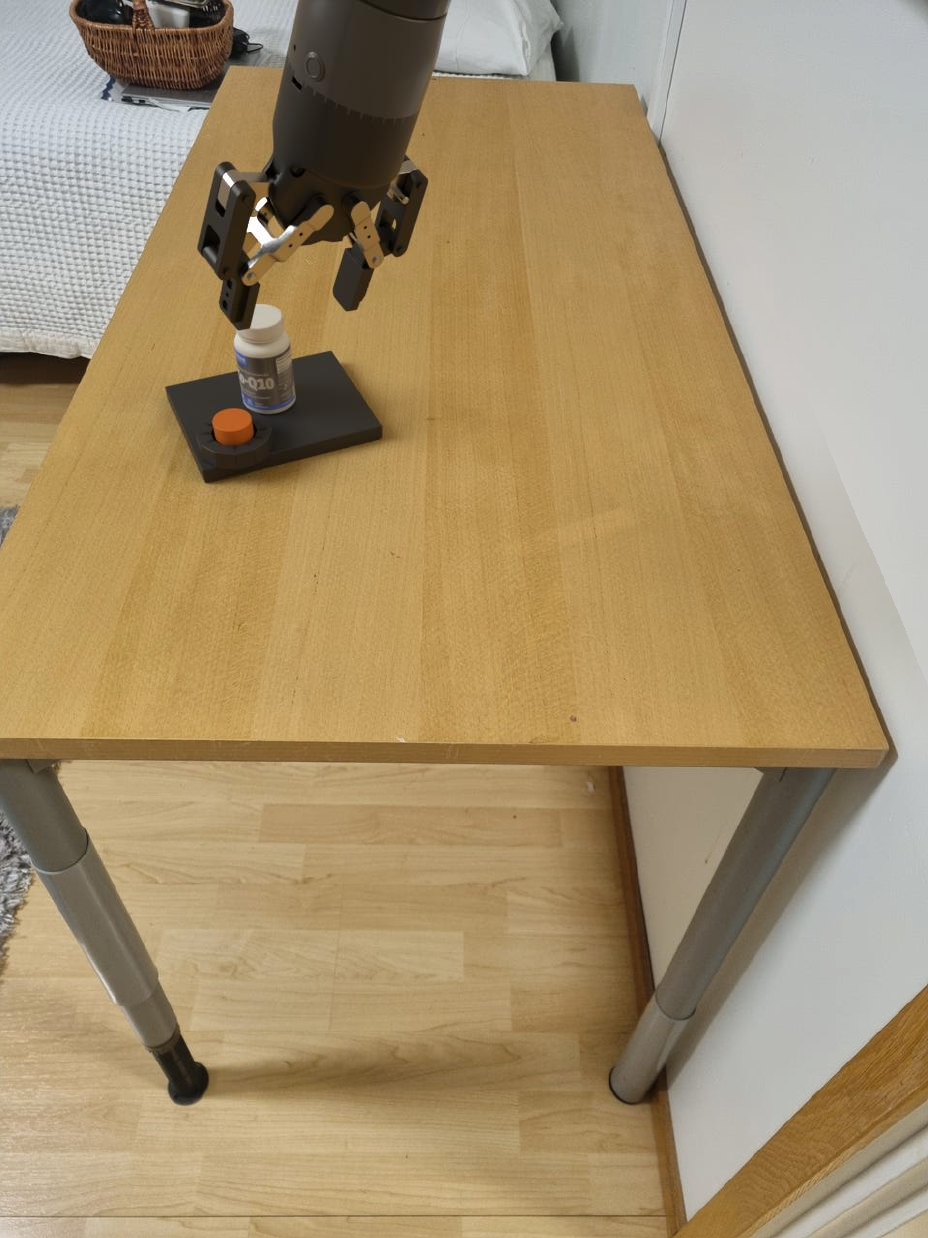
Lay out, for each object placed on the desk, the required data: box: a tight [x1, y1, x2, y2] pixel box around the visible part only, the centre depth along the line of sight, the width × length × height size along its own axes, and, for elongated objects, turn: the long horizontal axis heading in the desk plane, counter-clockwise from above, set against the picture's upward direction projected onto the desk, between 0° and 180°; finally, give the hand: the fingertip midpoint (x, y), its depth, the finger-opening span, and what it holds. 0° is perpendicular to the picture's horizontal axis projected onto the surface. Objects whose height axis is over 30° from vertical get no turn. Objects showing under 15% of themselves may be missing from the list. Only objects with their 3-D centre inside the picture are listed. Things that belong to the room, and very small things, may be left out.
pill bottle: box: [233, 303, 296, 414], centre depth 81 cm, size 5×5×8 cm
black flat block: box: [164, 350, 383, 484], centre depth 83 cm, size 16×14×3 cm
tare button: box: [212, 408, 254, 446], centre depth 78 cm, size 3×3×2 cm
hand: (291, 312), depth 62 cm, fingers open, 8 cm apart
